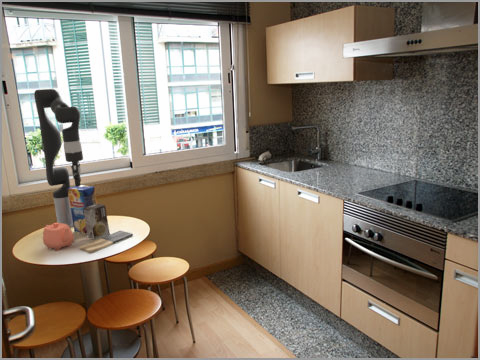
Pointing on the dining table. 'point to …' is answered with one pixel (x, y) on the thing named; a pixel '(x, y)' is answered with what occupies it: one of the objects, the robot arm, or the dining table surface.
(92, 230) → the coffee box
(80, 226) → the juice carton
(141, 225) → the dining table surface
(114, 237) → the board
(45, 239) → the teapot
